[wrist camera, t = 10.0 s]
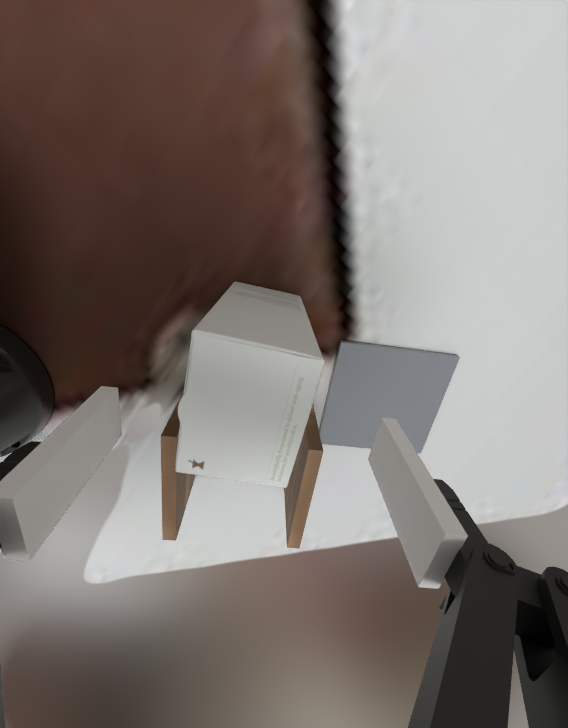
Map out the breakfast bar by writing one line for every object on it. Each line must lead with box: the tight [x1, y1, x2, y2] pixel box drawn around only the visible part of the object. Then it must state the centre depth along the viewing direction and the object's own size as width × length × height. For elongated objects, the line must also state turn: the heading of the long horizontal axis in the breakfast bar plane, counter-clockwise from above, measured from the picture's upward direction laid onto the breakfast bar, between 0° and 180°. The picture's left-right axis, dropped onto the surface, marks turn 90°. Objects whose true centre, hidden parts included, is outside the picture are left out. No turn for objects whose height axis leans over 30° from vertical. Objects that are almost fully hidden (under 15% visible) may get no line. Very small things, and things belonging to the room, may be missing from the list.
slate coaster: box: [319, 340, 460, 453], centre depth 33 cm, size 12×12×1 cm
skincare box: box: [175, 281, 325, 488], centre depth 22 cm, size 8×7×16 cm
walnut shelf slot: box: [161, 392, 323, 548], centre depth 31 cm, size 13×12×8 cm
